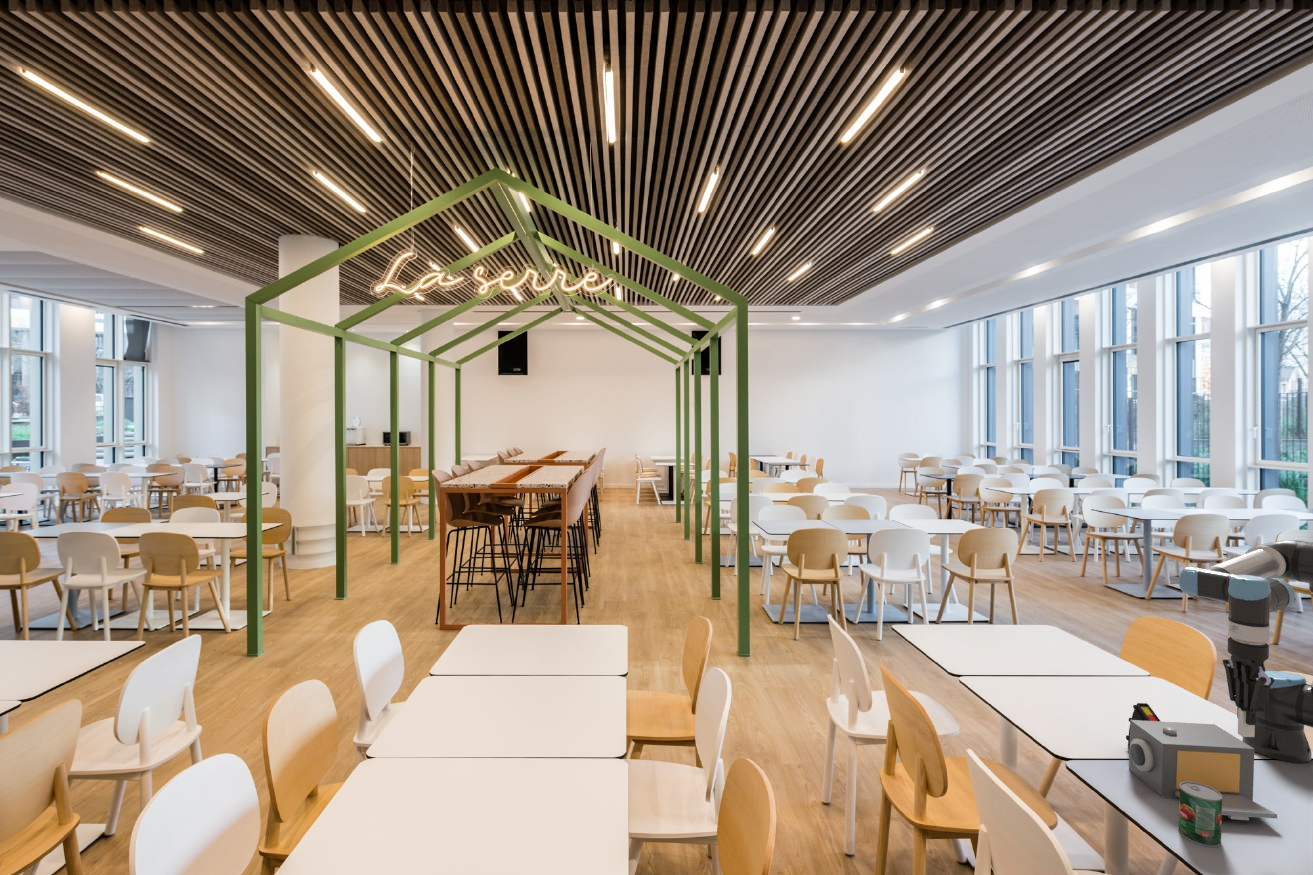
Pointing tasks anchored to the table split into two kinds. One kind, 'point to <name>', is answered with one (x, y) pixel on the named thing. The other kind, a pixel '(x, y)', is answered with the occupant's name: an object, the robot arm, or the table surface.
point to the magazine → (1142, 715)
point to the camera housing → (1190, 757)
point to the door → (1242, 807)
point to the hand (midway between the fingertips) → (1246, 735)
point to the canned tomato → (1200, 814)
